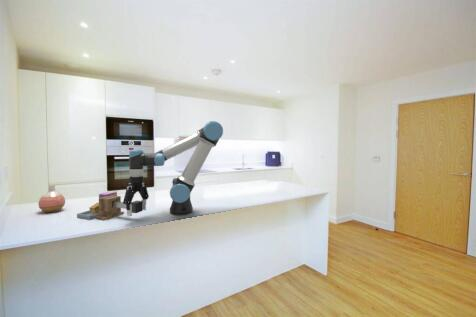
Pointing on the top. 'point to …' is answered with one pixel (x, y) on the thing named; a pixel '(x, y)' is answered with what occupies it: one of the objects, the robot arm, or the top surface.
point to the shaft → (135, 205)
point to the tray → (87, 215)
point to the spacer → (94, 209)
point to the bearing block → (108, 207)
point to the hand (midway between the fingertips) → (136, 212)
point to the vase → (51, 200)
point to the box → (108, 194)
